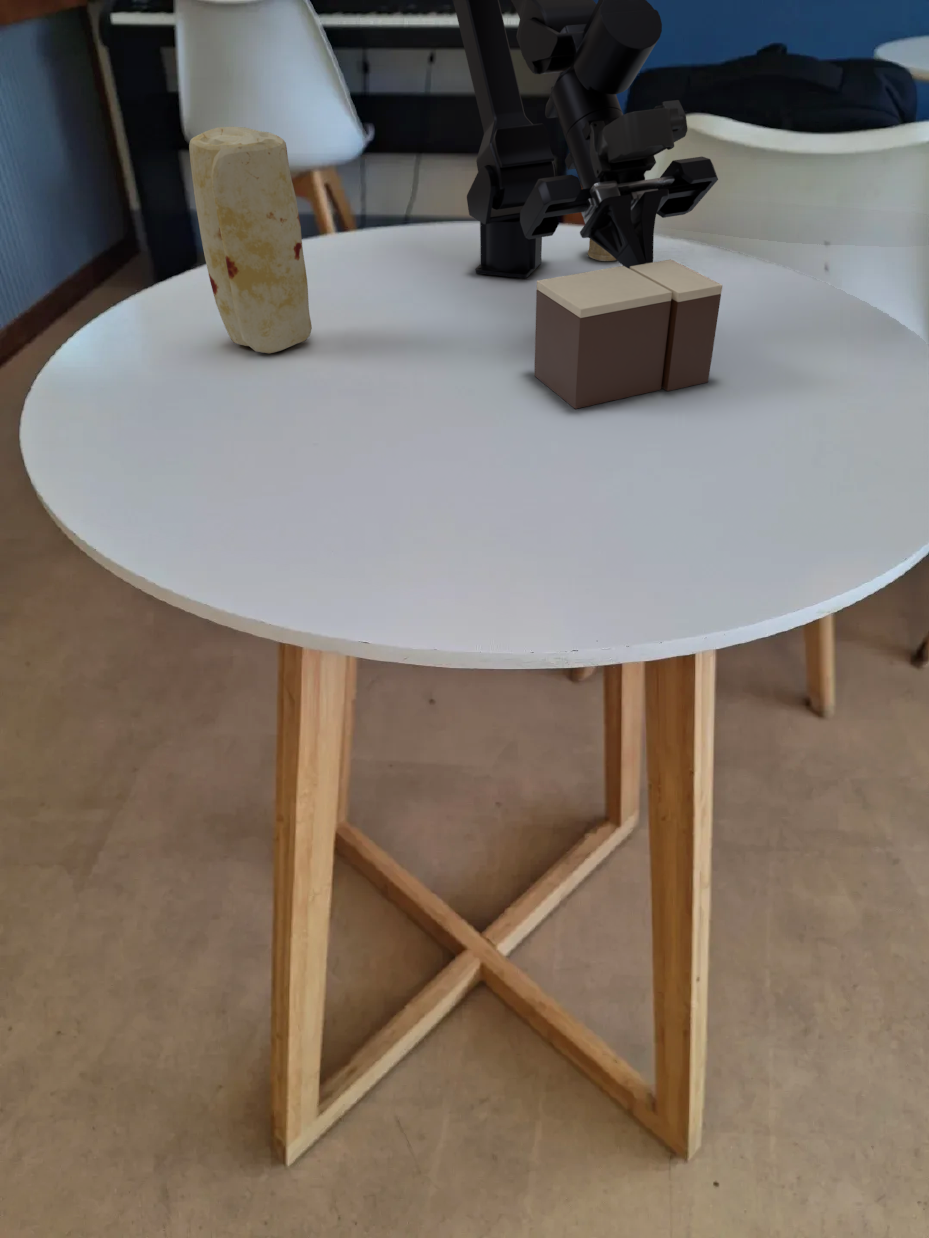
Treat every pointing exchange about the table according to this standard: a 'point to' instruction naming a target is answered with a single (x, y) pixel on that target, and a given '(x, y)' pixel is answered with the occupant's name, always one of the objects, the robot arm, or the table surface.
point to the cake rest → (601, 335)
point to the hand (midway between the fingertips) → (647, 279)
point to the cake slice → (686, 321)
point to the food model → (251, 236)
